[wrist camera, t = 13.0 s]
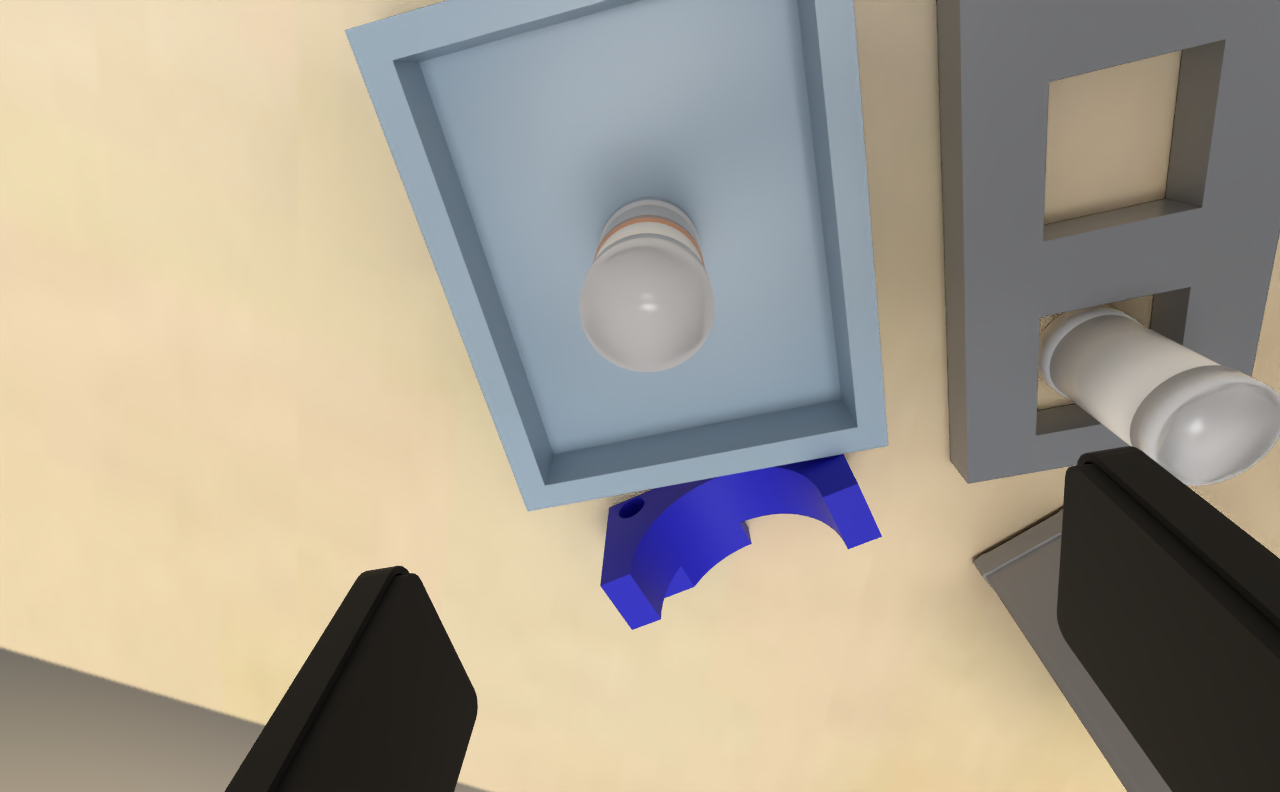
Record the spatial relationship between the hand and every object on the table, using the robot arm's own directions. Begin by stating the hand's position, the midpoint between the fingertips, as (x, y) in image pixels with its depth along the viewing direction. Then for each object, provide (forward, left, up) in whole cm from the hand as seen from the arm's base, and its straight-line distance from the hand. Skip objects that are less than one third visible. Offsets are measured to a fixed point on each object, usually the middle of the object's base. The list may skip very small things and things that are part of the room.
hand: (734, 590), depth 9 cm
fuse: (-17, +8, -21) cm, 28 cm away
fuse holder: (-17, -1, -21) cm, 27 cm away
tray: (+1, -1, -21) cm, 21 cm away
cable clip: (0, +13, -21) cm, 25 cm away
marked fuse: (+1, -1, -20) cm, 20 cm away
